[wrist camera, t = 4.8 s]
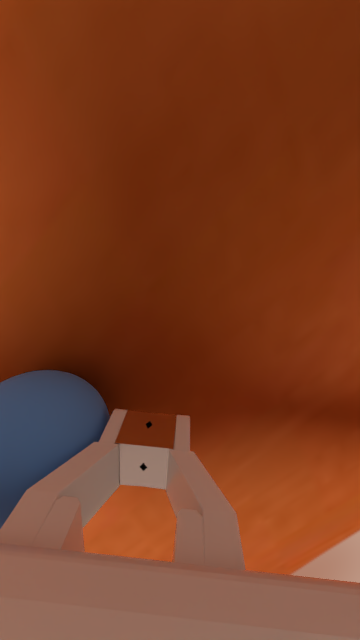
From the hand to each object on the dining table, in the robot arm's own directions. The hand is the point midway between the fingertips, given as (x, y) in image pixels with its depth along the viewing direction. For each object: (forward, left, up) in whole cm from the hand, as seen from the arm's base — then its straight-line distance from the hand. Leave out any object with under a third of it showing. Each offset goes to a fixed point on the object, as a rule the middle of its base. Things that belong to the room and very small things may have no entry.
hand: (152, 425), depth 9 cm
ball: (0, -4, +1) cm, 4 cm away
